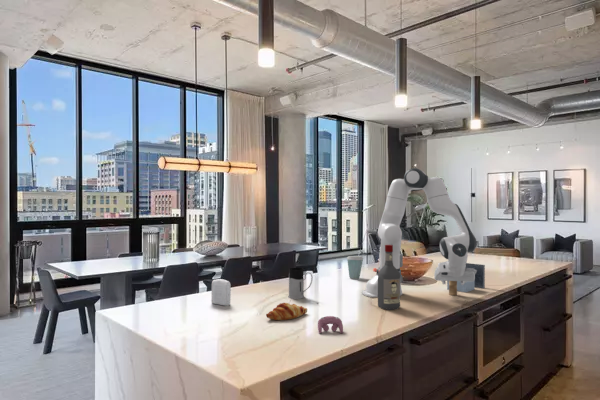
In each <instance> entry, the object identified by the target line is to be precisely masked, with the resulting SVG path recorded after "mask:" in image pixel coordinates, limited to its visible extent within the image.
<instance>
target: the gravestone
mask: <svg viewBox="0 0 600 400" xmlns="http://www.w3.org/2000/svg"><path fill="white" fill-rule="evenodd" d="M211 281H212V282H211V300H210V301H211V304H213V305H220V306H225V307H227V306H230V305H231V297H232V296H231V295H232V294H231V291H232V289H231V288H232V287H231V286H232V285H231V282H230V281H229V280H226V279H223V278H222V279H221V278H217V279H213V280H211Z"/></svg>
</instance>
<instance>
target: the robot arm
mask: <svg viewBox="0 0 600 400" xmlns="http://www.w3.org/2000/svg"><path fill="white" fill-rule="evenodd" d="M419 191H423V192H424V193H425V196H426V200H427V203H428V206H429V209H430V210H431V211H432V212H433V213H435V214H438V215H443V216H446V217H447V216H449V217H451V218H452V219H453V220H454V221H455V222H456V225H457V226H458V229H459V231H460V234H456V235H448V236H445V237H442V238H441V239H440V241H439V244H438V245H439V246H438V248H439V252H440V255H442V257H443V258H445V260H446V261H442V262H438V263H437V267H436V268H435V270H434V273H433V274H434V275H433V276H434V280H435V281H439V282H440V281H441V282H442V285H446V284H447V281H461V285H464V283H466V282H467V281H468V282H473V281H474V280H475V274H476V272H477V270H476V269H474V268H466V263H468V262H467V261H468V256H469V255H468V253H473V252H474V251H475V250H476V248H477V246H478V243H477V242H478V241H477V238H476V237H475V234H474V233H473V232H472V230H471V228H470V225H469V223H468V222H467V219H466V217H465V216H464V213H463V211H462V209H461V208H460V207H459V205H458V204H457V203H454V202H453V201H452V199H451V198H450V196H449V193H448V190H447V187H446V184H445V182H444V180H443V179H442V178H440V177H438V176H433V177H429V176H428V175H427V173H426V172H425V171H424V170H422V169H419V168H417V167H413V168H409V169H407V170H406V171H405V173H404V176H403V178H395V179H393V180H392V182H391V184H390V185H389V188H388V192H387V196H386V200H385V204H384V207H383V209H384V210H383V212H382V216H381V219H380V221H379V226H378V229H377V235H378V238H379V239H380V247H379V258H378V259H379V261H378V262H379V263H378V265H379V267H378V268H376V267H374V268H373V269H372V270H373V272H375V273H376V274H375V275H374V276H372V278H370V279H369V280H368V281H366V285H365V290H364V289H362V290H361V295H363V296H366V297H369V298H378V272H379V271H380V270H381V268H382V267H383V266H384V265H385V245H393V252H392V256H393V266H394V267H395V268H396V269H397V270H398V271H399V273H400V276H401V270H400V254H401V247H402V237H403V232H402V229H401V227H400V225H401V223H402V219H403V217H404V215H405V211H406V209H407V208H406V206H407V202H408V198H409V197H408V196H409V194H410V192H419ZM401 283H402V282H400V296H402V295H403V294H404V293H403V290H402V284H401Z"/></svg>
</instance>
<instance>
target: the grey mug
mask: <svg viewBox="0 0 600 400" xmlns="http://www.w3.org/2000/svg"><path fill="white" fill-rule="evenodd" d="M308 274H309V275H310V276H311V281H310V284H309V285H308V287H307V288H305V289H304V287H305V286H304V284H305V283H304V281H306V278H307V277H306V276H307V275H308ZM312 283H313V274H312V273H311V272H309V271H308V272H306V273H305V274H304V268H301V267H291V268H289V269H288V299H293V300H294V299H295V300H297V299H298V300H300V299H304V298H305V294H304V293H305V292H306V291H307V290H308V289H309V288H310V287H311V285H312Z"/></svg>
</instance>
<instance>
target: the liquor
mask: <svg viewBox="0 0 600 400" xmlns="http://www.w3.org/2000/svg"><path fill="white" fill-rule="evenodd" d="M392 252H393V245H385V265H384V266H383V267H382V268H381V270H380V271H379V272H378V297H377V306H378V308H380V309H383V310H385V309H386V310H388V311H393V310H394V311H395V310H399V308H400V307H401V295H400V283H401V282H400V273H399V271H398V270H397V269H396V268H395V267H394V266H393V256H392ZM386 310H385V311H386Z"/></svg>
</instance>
